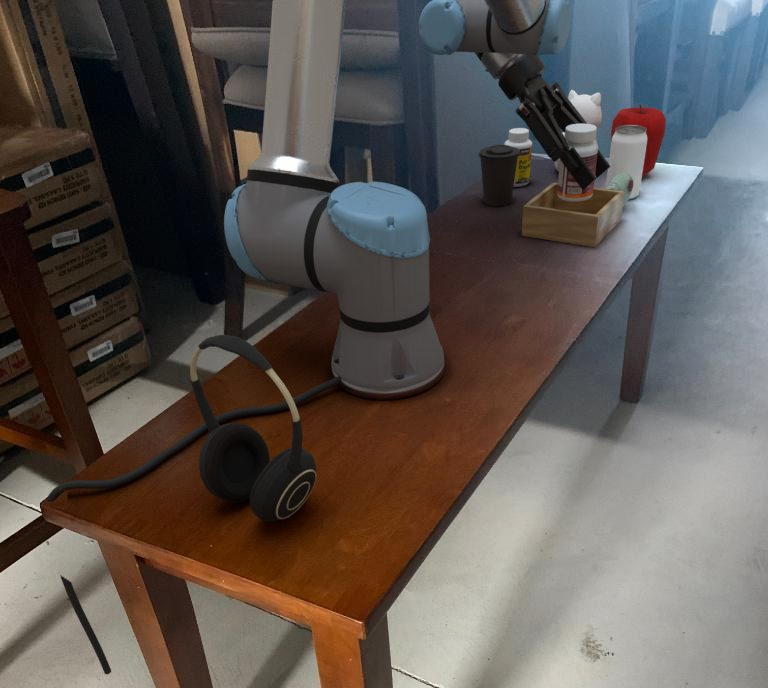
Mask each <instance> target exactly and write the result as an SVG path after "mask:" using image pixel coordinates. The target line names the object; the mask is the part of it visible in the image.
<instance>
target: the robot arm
mask: <svg viewBox="0 0 768 688" xmlns="http://www.w3.org/2000/svg"><path fill="white" fill-rule="evenodd" d="M347 1H348V0H272V4H271V5H272V7H271V19H270V33H269V44H268V57H267V59H268V60H267V69H266V70H267V71H266V82H265V84H266V86H265V96H264V97H265V98H264V110H263V124H262V136H261V151H260V154H259V156H258V157H257V158H256V159H255V160H254V161H252V163H250V164H249V165H248V166H247V174H246V182H245V183H243V184H242V185H240V186H239V185H238V187H236V188H235V189H234V190H233V192H232V193H231V198H229V199H228V200H227V202H226V204H225V205H226V206H225V210H224V217H223V229H224V237H225V242H226V246H227V249H228V251H229V253H230V256H231V258H232V259H233V260H235V262H236V265H237V266H238V268H239V269H240V270H241V271H242V272H243V273H245V274H246V275H248V276H250V277H252V278H255V279H259V280H262V281H266V282H267V283H269V284H273V285H285V286H290V287H297V288H302V289H308V290H312V291H318V292H323V293H328V294H333V295H336V296H337V301H338V310H339V319H340V320H339V326H338V330H337V335H336V339H335V342H334V345H333V346H334V347H333V350H332V356H331V363H330V364H331V374H332V378H330V379H329V380H327V381H325V382H323V383H320V384H318V385H317V386H314V387H312V388H310V389H308V390H307V391H305V392H303V393H301V394H299V395H298V396H295V397H292V399H293V401H294V403H295V405H296V406H298V405H300V404H301V403H304V402H305V401H307V400H309V399H311V398H312V397H315V396H316V395H318V394H320V393H323V392H324V391H327V390H329V389H331V388H334V387H335V386H338V387H339V388H340V389H342V390H343V391H344V392H347V393H349V394H351V395H353V396H356V397H360V398H365V399H370V400H394V399H396V400H397V399H402V398H403V399H404V398H408V397H410V396H411V397H412V396H415V395H417V394H420V393H422V392H424V391H427V390H429V389H430V388H432V387H434V386H435V385H436V384H437V383H438V382H439V381H440V380H441V379H442V377H443V376H444V373H445V366H446V365H445V364H446V363H445V362H446V361H445V354H444V349H443V347H442V345H441V342H440V339H439V336H438V334H437V331H436V327H435V324H434V322H433V320H432V317H431V305H430V301H431V300H430V299H431V298H430V242H431V237H430V231H429V225H428V214H427V210H426V206H425V205H424V204H423V202H422V199H420V198H419V196H417V195H416V194H415V193H414V192H412V191H411V190H408V189H407V188H404V187H402V186H398V185H395V184H391V183H387V182H382V181H370V182H363V181H355V182H349V183H346V184H342V185H340V180H339V178H338V177H337V175H336V174H335V172H334V171H333V170H332V169H333V168H332V167H331V165H330V164H331V153H332V143H333V135H334V126H335V125H334V124H335V115H336V107H337V106H336V105H337V95H338V87H339V78H340V77H339V76H340V69H341V59H342V58H341V57H342V48H343V40H344V39H343V38H344V28H345V20H346V9H347ZM571 23H572V7H571V3H570V1H569V0H431V1H429V2H428V3H427V4H426V5H425V6H424V7H423V8H422V12H421V14H420V16H419V19H418V33H419V38H420V40H421V42H422V44H423V46H424V47H425V48H426V50H428V51H429V52H430V53H431V54H434V55H437V56H443V55H447V56H450V55H452V54H454V53H457V52H458V53H474V54H475V56H476V57H477V59H478V60H479V61H480V62H481V63H482V64H483V66H484V71H485V72H487V73H489V75H491V77H492V78H493V79H494V80H498V87H499V88H500V89H501V91H502V92H503V94H504V95H505V96H506V98H507V99H508V100H510V101H514V100H516V99H517V98H518V100H519V103H520V104H519V106H518V107H517V108H516V109H515V114H517V115H518V117H520V119H521V120H522V121H523V122H524V123H525V124H526V126H527V128H528V130H529V131H530V132H531V133H532V135H533V136H534V138H535V139H536V140H537V142H538V143H539V145H540V146H541V148H542V150H543V151H544V152H545V154H546V155H547V156H548V158H549V159H550V160H551V161H553V163H555V162H556V161H557V160H558V159H559V158H560V160H561V161H562V163H563V164H564V166H565V167H566V168H567V170H568V171H569V172H570V174H571V175H572V176H573V178H574V179H575V180H576V182H577V183H578V185H579V186H580V187H581V189H582V190H584V189H585V188H586V187H587V186H588V185H590V184H591V183H592V182H593V181H594V182H595V181H596V180H597V179H598V178H599V177H600V176H602V174H604V173H605V172H606V171H608V168H609V167H611V166H610V165H609V161H607V159H606V158H605V157H604V155H603V154H602V152H601V151H600V150H599V149H598V152H597V161H596V171H595V176H594V174H593V173H592V172H591V170H590V169H589V168H588V166H587V165H586V163H585V162H584V161H583V159H582V158H581V157H580V155H579V154H578V153H577V151H576V150H575V148H574V147H572V148H571V149H570V147H569V145H568V143H567V141H566V139H565V137H564V135H563V132H564V133H565V129H566V127H567V126H569V125H572V124H587V122H586V121H585V120H584V119H583V117H582V116H581V115H580V113H579V112H578V111H577V110H576V108H575V107H574V106H573V104H572V103H571V102H570V101H569V99H568V96H567V95H566V94H565V92H564V91H563V89H562V87H561V86H560V84H559V83H558V81H554V83H552V84H551V85H550V84H549V83H548V82H547V81H546V80H545V79H544V78H543V77H542V74H543V73H544V71H545V69H546V65H545V63H544V61H543V60H542V59H541V57H540V55H541V56H542V55H558V54H559V53H561V51H563V49H564V48H565V46H566V44H567V41H568V38H569V34H570V30H571ZM569 149H570V150H569ZM287 409H290V408H289V406H288V403H287V401H286V400H285V401H282V402H279V403H275V404H274V403H273V404H269V405H261V406H260V405H259V406H252V407H244V408H237V409H234V410H229V411H226V412H224V413H221V414H218V415H215V417H216V419H217V421H218V423H219V424H221V423H224V422H226V421H229V420H232V419H235V418H239V417H245V416H252V415H253V416H254V415H261V414H262V415H263V414H269V413H274V412H275V413H276V412H280V411H284V410H287ZM207 431H208V428H207V426H206V424H205V422H203V423H201V424H200V425H198V426H197V427H196V428H195V429H193V430H192V431H190V432H189V433H188V434H186V435H185V436H184V437H182V438H181V439H180V440H178V441H176V442H175V443H173V444H172V445H170V446H169V447H167V448H165V449H164V450H162V451H161V452H159V453H158V454H156V455H155V456H153V457H152V458H151V459H149V460H148V461H146V462H145V463H143V464H142V465H140V466H139V467H136V468H135V469H132V470H131V471H129V472H127V473H124V474H122V475H120V476H117V477H114V478H111V479H104V480H86V479H85V480H83V479H81V480H80V479H79V480H70V481H66V482H63V483H61V484H59V485H57V486H55V487H54V488H53V489H51V491H50V492H49V494H48V495H47V497H46V500H45V501H46V502H48V503H52V502H54V501H56V500H57V499H58V498H59V496H61V495H62V494H63V493H65V492H67V491H70V490H76V489H77V490H79V489H82V490H83V489H85V490H86V489H87V490H103V489H111V488H115V487H118V486H122V485H124V484H127V483H130V482H131V481H133V480H135V479H137V478H139V477H141V476H143V475H144V474H146V473H148V472H149V471H152V469H154V468H155V467H157V466H158V465H160V464H161V463H162V462H164V461H165V460H167V459H168V458H169V457H171V456H172V455H174V454H176V453H177V452H179V451H181V450H182V449H183V448H185V447H186V446H189V444H190V443H192V442H193V441H195V440H196V439H197V438H199V437H200V436H201V435H202V434H204V433H205V432H207ZM65 485H66V486H65ZM63 486H65V487H63ZM62 487H63V488H62ZM61 488H62V489H61ZM60 489H61V490H60ZM58 490H59V491H58ZM64 490H65V491H64ZM56 491H58V492H56ZM60 491H61V492H60ZM55 492H56V493H55ZM50 496H51V497H50ZM49 497H50V498H49ZM47 498H48V499H47ZM60 579H61V582H62V585H63V587H64V590H65V591H66V595H67V597H68V600H69V602H70V604H71V606H72V608H73V611H74V613H75V614H76V616H77V617H76V618H77V619H78V621H79V623H80V624H81V625H80V626H81V627H82V629H83V630H84V633H85V635H86V636H87V639H88V640H89V642H90V644H91V647H92V649H93V651H94V653H95V655H96V657H97V659H98V661H99V663H100V666H101V669H102V671H103V673H104V674H105V675H110V674H111V673H112V668H111V666H110V664H109V661H108V659H107V657H106V654H105V652H104V650H103V647H102V645H101V644H100V642H99V639H98V637H97V635H96V633H95V631H94V629H93V627H92V625H91V623H90V621H89V619H88V616H87V615H86V613H85V611H84V608H83V607H82V605H81V602H80V601H79V597H78V595H77V594H76V591H75V588H74V586H73V583H72V581H70V580H69V579H67V578H66V577H64V576H63V575H61V574H60Z"/></svg>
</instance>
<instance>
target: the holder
mask: <svg viewBox="0 0 768 688" xmlns="http://www.w3.org/2000/svg"><path fill="white" fill-rule="evenodd" d="M557 191H558V182H552V183H550V184H549V185H548V186H547V187H546V188H544V189H542V191H540V192H539V193H538V194H537V195H535V196H534V197H533V198H532V199H530V200H529V201H528V202H526V203H525V204H524V205H523V206H522V222H521V236H522V237H527V238H534V239H540V240H545V241H546V240H547V241H553V242H558V243H564V244H570V245H578V246H582V247H588V248H589V247H590V248H596V247H597V245H598V244H600V243H601V241H603V239H604V238H606V237H607V236H608V234H609V233H610V232H611V231H612V230H614V229H615V227H617V225H618V224H620V222H621V221H622V216H623V215H622V214H623V208H624V205H623V201H624V194H625V191H618V190H610V189H606V188H602V187H601V188H600V187H594V188H593V195H592V197H591V198H590V199H588V200H585V201H578V202H569V201H565V200H562V199H560V198H559V197H558V195H557Z"/></svg>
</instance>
